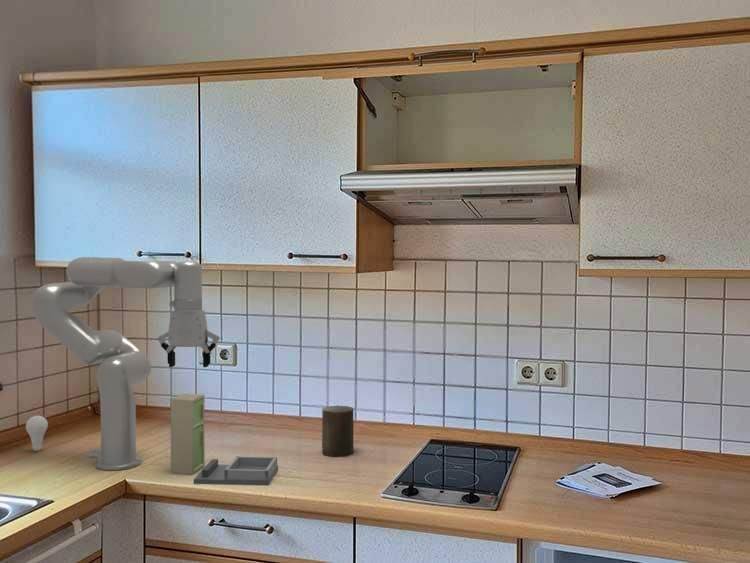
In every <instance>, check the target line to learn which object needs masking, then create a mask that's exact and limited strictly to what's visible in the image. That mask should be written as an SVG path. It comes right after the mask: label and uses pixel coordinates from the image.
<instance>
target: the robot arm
mask: <svg viewBox="0 0 750 563" xmlns="http://www.w3.org/2000/svg"><path fill="white" fill-rule="evenodd" d="M65 273H66V277H67V279H68V280H69V281H70V282H53V283H47V284H45V285H42V286H40V287H38V288H37V289H36V291H35V292H34V293H33V295H32V300H31V307H32V308H31V309H32V313H33V316H34V317H35V319H36V321H37V322H38V324H39V326H41V327H42V329H45V331H46V332H48V333H49V334H50V335H51V336H53V337H54V338H55V339H56V340H58V341H59V342H60V343H61V344H62V345H63V346H64V347H65V348H66V349H67V350H69V351H70V353H72V354H73V355H74V356H76V358H77V359H79V360H80V361H81V362H82V363H84V364H86V365H92V366H93V365H97V364H99V365H98V367H97V370H96V382H97V385H98V386H97V387H98V391H99V399H100V400H99V401H100V448H99V449H95V448H94V449H92V448H91V449H88V452H87V453H88V454H87V455H88V458H90V459H91V458H93V459H94V458H96V459H97V460H96V462H95V468H97V469H99V470H103V471H121V470H127V469H131V468H134V467H137V466H140V464H142V462H143V458H142V456H140V455H137V413H136V412H137V408H136V404H137V403H136V398H135V395H134V392H133V388H132V386H133V385H136V384H139V383H142V382H144V381H145V380H147V379H148V377H149V376H150V375H151V370H152V365H151V361H150V359H149V358H148V356H147V355H146V354H145V352H143V351H142V350H141V349H139V348H138V347H137V346H136V345H135V344H133V342H131V341H130V339H129V338H127V337H126V336H124V335H123V334H122V333H120V332H118V331H116V330H112V329H103V330H95V329H93V328H92V327H90V326H89V325H88V324H86V323H85V321H83V320H82V319H81V318H80V317H78V316H76V315H75V314H72V313H70V312H69V311H76V310H80V309H83V308H85V307H86V306H87V305H88V304H90V302H91V301H92V300H94V298H96V297H97V296H98V294H100V292H102V291H103V289H105V288H119V289H121V288H128V289H147V290H148V289H150V290H151V289H161V288H163V289H164V288H173V290H174V291H173V298H174V299H173V300H172V301H169V303H168V304H169V307H172V308H173V309H174V310H171V312H170V316H169V322H168V324H169V325H168V331H167V332H165V333H163V334H162V335H159V336H158V337H157V341H158V342H159V344H160V346H161V348H162V349H164V351H165V353H166V354H167V364H168V366H169V368H172V367H175V366H176V352H175V351H174V350H175V349H176V348H177V347H178V348H180V347H181V348H183V347H185V348H189V347H191V348H198V347H200V348H201V349H202V350H203V351H204V352H203V353H202V368H207V367H209V366H210V364H211V352H212V351H213V350H214V349H215V348H216V347H217V345H218V343H219V341H220V336H219V335H217V334H215V333H213V332H211V331H210V330H209V329H208V322H207V316H206V312H205V310H203V276H202V275H203V271H202V265H201V263H200V262H198V261H171V260H152V261H151V260H124V259H123V258H120V257H99V256H97V257H96V256H94V257H93V256H88V257H87V256H83V257H77V258H75V259H73V260H70V262H69V263H68V264H67V267H66V270H65ZM167 338H168V343H167V342H166V339H167ZM209 339H212V342H211V343H210V345H209V344H208V341H209Z"/></svg>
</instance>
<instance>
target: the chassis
mask: <svg viewBox="0 0 750 563" xmlns="http://www.w3.org/2000/svg"><path fill="white" fill-rule="evenodd" d="M278 471H279V465H278V457H277V456H239V455H238V456H237V455H236V456H235V457H234V458H233V459H232V461H231V462H230V463H229V464H219V459H218V458H212V459H211V460H210V461H209V462H208V463H207V464H205V465H204V467H203V468H201V471H200V472H199V473H198V474H197V475H196V476H195V477H194V478H193V484H197V485H201V484H203V485H250V486H269V485H270V484H271V482H272V480H273V479H274V477H275V475H276V474H277V472H278Z"/></svg>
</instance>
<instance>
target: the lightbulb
mask: <svg viewBox="0 0 750 563" xmlns="http://www.w3.org/2000/svg"><path fill="white" fill-rule="evenodd" d="M48 426H49V423H48V421H47V419H46V418H45V417H44V416H41V415H34V416H32V417H30V418H29V419H28V420H27V421H26V423H25V431H26V432H27V434H28V435H29V437H30V440H31V444H32V445H31V446H32V450H33V451H35V452H39V451H40V450H42V448H43V440H44V436H45V433H46V432H47V429H48Z"/></svg>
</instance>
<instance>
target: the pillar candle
mask: <svg viewBox="0 0 750 563" xmlns="http://www.w3.org/2000/svg"><path fill="white" fill-rule="evenodd" d="M321 416H322V418H321V420H322V421H321V423H322V424H321V426H322V429H321V432H322V434H321V447H322V448H321V450H322V454H323V455H325V456H328V457H334V458H335V457H336V458H337V457H347V456H348V455H349V456H351V455H353V454H354V441H355V440H354V407H352V406H348V405H339V404H336V405H330V406H324V407H322V415H321ZM349 456H348V457H349Z"/></svg>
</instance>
